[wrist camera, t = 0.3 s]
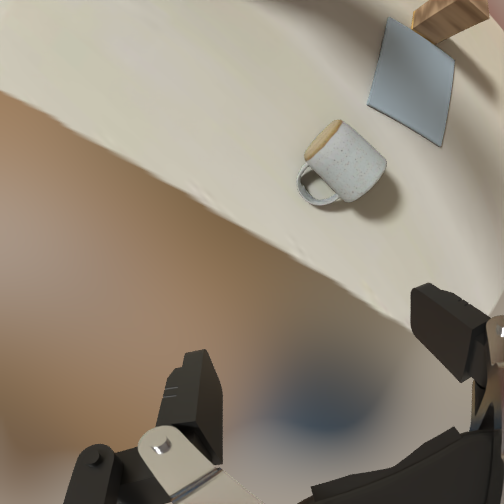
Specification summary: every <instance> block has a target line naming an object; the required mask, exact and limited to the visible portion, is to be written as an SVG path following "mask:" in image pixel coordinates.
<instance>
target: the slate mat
mask: <svg viewBox="0 0 504 504" xmlns="http://www.w3.org/2000/svg"><path fill="white" fill-rule="evenodd" d="M454 63H455V60H454V59H453V58H451V57H450V56H449V55H447V54H446V53H445V52H443V51H442V50H441V49H439V48H438V47H436V46H435V45H434V44H432V43H431V42H429V41H428V40H426V39H425V38H423V37H422V36H420V35H419V34H417V33H416V32H414V31H413V30H411V29H409V28H408V27H406V26H405V25H403V24H401V23H400V22H398V21H396V20H394V19H393V18H391V17H389V18H388V20H387V24H386V29H385V34H384V38H383V43H382V47H381V51H380V56H379V60H378V64H377V68H376V72H375V76H374V80H373V84H372V87H371V91H370V95H369V99H368V102H367V105H368V106H370V107H372V108H374V109H376V110H378V111H380V112H382V113H384V114H386V115H387V116H389V117H391V118H393V119H395V120H396V121H398V122H400V123H402V124H403V125H405V126H407V127H409V128H410V129H412V130H414V131H415V132H417V133H418V134H420V135H422V136H423V137H425V138H426V139H428V140H430V141H431V142H433V143H434V144H436V145H437V146H441V144H442V140H443V135H444V130H445V125H446V120H447V114H448V109H449V103H450V96H451V89H452V81H453V73H454Z"/></svg>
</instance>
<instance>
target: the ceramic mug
mask: <svg viewBox="0 0 504 504" xmlns="http://www.w3.org/2000/svg"><path fill="white" fill-rule="evenodd" d="M304 158H305V160H306V163H305V164H304V165H303V166H302V168H301V169H300V171H299V173H298V176H297V181H296V184H297V189H298V191H299V193H300V195H301V196H302V197H303V198H304V199H305V200H306V201H307V202H309V203H310V204H313V205H326V204H329V203H332V202H334V201H336V200H337V199H339V198H342V199H343V200H344V201H345V202H352V201H355V200H357V199H358V198H360V197H361V196H363V195H364V194H365V193H366V192H368V191H369V190H370V189H371V188H372V187H373V186H374V185H375V184H376V183H377V181H378V180H379V179H380V177H381V176H382V174H383V173H384V171H385V169H386V166H387V161H386V159H385V158H384V157H383V156H382V155H381V154H380V153H379V152H378V151H377V150H376V149H375V148H374V147H373V146H372V145H371V144H369V143H368V142H367V141H366V140H365V139H364V138H363V137H362V136H361V135H359V134H358V133H357V132H356V131H355V130H354V129H353V128H352V127H351V126H350V125H348V124H347V123H345V122H344V121H342V120H334V121H333V122H332V123H330V124H329V125H328V126H327V127H326V128H325V129H324V130H323V131H322V132H321V133H320V134H319V135H318V136H317V138H316V139H315V140H314V141H313V142H312V143H311V145H310V146H309V147H308V149H307V150H306V151H305V154H304ZM309 166H310V167H311V168H312V169H313V170H314V171H315V172H316V173H317V174H318V175H319V176H320V177H321V178H322V179H323V180H324V181H325V182H326V183H327V184H328V185H329V186H330V187H331V188H332V189H333V190H334V191H335V192H336V194H335V195H333V196H331V197H329V198H327V199H323V200H317V199H315V198H313V197H312V196H311V195H310V194H309V193H308V192H307V191H306V189H305V186H304V185H302V184H301V183H300V179H301V175H302V174H303V172H304V170H305V169H306V168H307V167H309Z"/></svg>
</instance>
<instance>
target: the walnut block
mask: <svg viewBox="0 0 504 504" xmlns="http://www.w3.org/2000/svg"><path fill="white" fill-rule="evenodd" d="M487 19H489V10H488V2H487V0H429V1H427V2H426V3H425V4H423V5H422V6H421V7H419V8H418V9H417V10H415V11H414V12H413V20H412V26H411V30H413V31H414V32H416V33H417V34H419V35H420V36H422V37H423V38H425V39H426V40H428V41H429V42H431V43H432V44H434V45H435V44H437V43H439V42H441V41H443V40H445V39H447V38H449V37H451V36H453V35H455V34H457V33H459V32H461V31H463V30H465V29H467V28H470V27H472V26H474V25H476V24H478V23H480V22H483V21H485V20H487Z"/></svg>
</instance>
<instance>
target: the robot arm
mask: <svg viewBox="0 0 504 504" xmlns="http://www.w3.org/2000/svg"><path fill="white" fill-rule="evenodd" d="M411 329H412V332H413V334H414V335H415V337H416V338H417V339H418V340H419V341H420V342H421V343H422V344H423V345H424V346H425V347H426V348H427V349H428V350H429V351H430V352H431V353H432V354H433V355H434V356H435V357H436V358H437V359H438V360H439V361H440V362H441V363H442V364H443V365H444V366H445V367H446V368H447V369H448V370H449V371H450V372H451V373H452V374H453V375H454V376H455V377H456V379H457V380H458V381H459V382H460V383H462V382H464V381H465V380H467V379H469V378H470V377H472V378H473V379H474V380H473V384H472V409H471V425H470V430H469V432H464V433H461V434H459V432H458V431H457V430H456V428H455V427H452V428H451V429H449V430H447V431H445V432H444V433H442V434H440V435H438V436H437V437H435V438H433V439H431V440H429V441H427V442H425V443H424V444H423V445H421V446H420V447H419V448H418V449H416V450H415V451H414V452H413V453H411V454H410V455H409V456H408V457H406V458H405V459H404V460H402V461H401V462H400V463H398V464H397V465H395V466H394V467H391V468H388V469H383V470H377V471H372V472H366V473H359V474H352V475H348V476H345V477H342V478H339V479H336V480H332V481H330V482H326V483H322V484H319V485H315V486H311V489H312V493H313V495H312V496H311V497H308V498H307V499H304V500H303V501H301V502H299V503H298V504H504V315H500V316H495V317H493V318H490V317H489V316H487V315H486V314H484V313H483V312H481V311H480V310H478V309H477V308H475V307H474V306H472V305H471V304H468V302H466V301H465V300H462V298H460V297H458V296H457V295H455V294H454V293H451V292H448V291H444V290H440V289H439V288H437V287H436V286H434V285H433V284H431V283H426V284H423V285H421V286H418V287H416V288H413V289H412V291H411ZM222 419H223V394H222V387H221V384H220V381H219V378H218V376H217V373H216V371H215V369H214V366H213V364H212V361H211V359H210V357H209V354H208V352H207V350H205V349H203V350H198V351H193V352H188V353H185V356H184V361H183V365H182V367H180V368H175V369H174V370H173V372H172V373H171V374H170V376H169V377H168V378H167V382H166V386H165V390H164V394H163V399H162V402H161V406H160V410H159V414H158V418H157V423H156V427H155V428H153V429H151V430H149V431H148V432H146V433H145V434H144V435H143V436H142V437H141V439H140V441H139V443H138V447H135V448H132V449H128V450H125V451H122V452H117V453H114V451H113V450H112V449H111V448H110V447H108V446H107V445H104V444H95V445H92V446H90V447H88V448H86V449H85V450H83V451H82V452H81V454H80V455H79V457H78V459H77V462H76V464H75V467H74V470H73V473H72V477H71V480H70V483H69V486H68V490H67V493H66V496H65V500H64V503H63V504H165V503H169V502H172V504H265V503H263V502H262V501H261V500H259V499H258V498H257V497H255V496H254V495H253V494H252V493H250V492H249V491H248V490H246V489H245V488H244V487H243V486H242V485H240V484H239V483H238V482H237V481H236V480H235V479H233V478H232V477H231V476H230V475H229V474H228V473H226V472H225V471H224V470H223V469H221V468H216V467H215V466H214V465H220V464H223V446H222V445H223V441H222V440H223V438H222V437H223V436H222V435H223V426H222V425H223V420H222Z"/></svg>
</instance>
